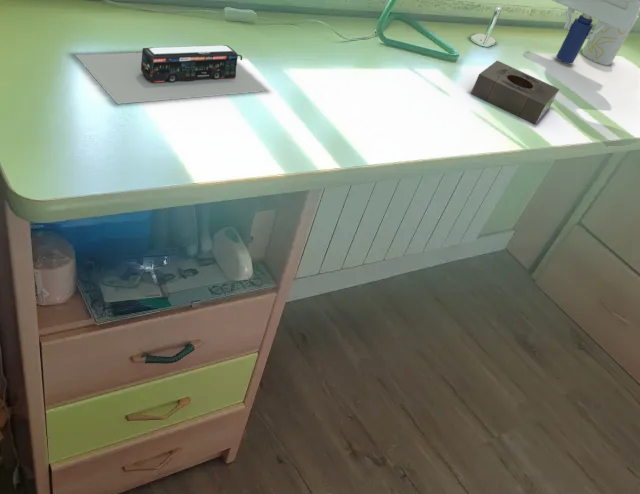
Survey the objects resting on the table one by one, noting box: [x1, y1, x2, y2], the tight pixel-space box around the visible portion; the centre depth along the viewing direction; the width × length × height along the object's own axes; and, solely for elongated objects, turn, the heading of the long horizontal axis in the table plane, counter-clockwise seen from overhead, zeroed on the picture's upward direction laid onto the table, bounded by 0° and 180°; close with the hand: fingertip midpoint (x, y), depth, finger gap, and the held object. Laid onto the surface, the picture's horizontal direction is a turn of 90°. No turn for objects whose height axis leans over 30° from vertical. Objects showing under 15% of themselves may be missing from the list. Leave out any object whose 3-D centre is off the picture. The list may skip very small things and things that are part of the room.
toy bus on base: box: [75, 44, 267, 105], centre depth 93 cm, size 14×25×4 cm, turn 127°
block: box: [470, 60, 560, 125], centre depth 121 cm, size 14×12×4 cm
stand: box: [470, 6, 502, 48], centre depth 143 cm, size 8×5×8 cm
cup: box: [581, 15, 639, 66], centre depth 156 cm, size 8×8×12 cm
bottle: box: [555, 13, 594, 65], centre depth 145 cm, size 4×4×12 cm
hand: (577, 34), depth 145 cm, fingers closed on bottle, 4 cm apart
